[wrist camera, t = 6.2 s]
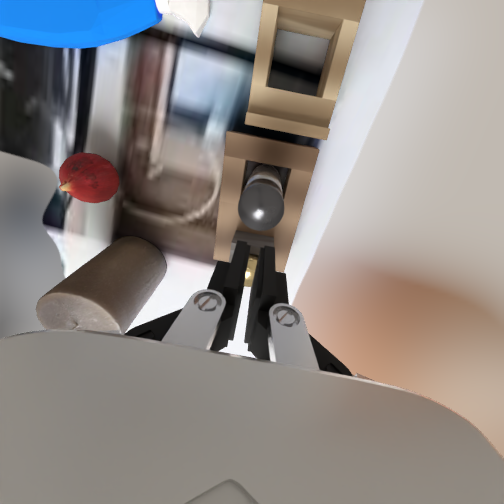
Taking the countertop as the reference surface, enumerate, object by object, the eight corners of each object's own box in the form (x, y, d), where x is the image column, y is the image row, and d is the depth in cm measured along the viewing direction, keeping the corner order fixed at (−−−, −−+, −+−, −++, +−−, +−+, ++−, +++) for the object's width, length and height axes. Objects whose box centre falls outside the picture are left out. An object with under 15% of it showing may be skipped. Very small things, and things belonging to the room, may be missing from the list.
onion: (93, 141, 29) (36, 145, 22) (135, 165, 30) (95, 176, 23) (85, 181, 32) (33, 196, 25) (125, 201, 33) (85, 221, 26)
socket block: (232, 130, 27) (219, 132, 21) (313, 146, 28) (326, 153, 21) (219, 246, 35) (206, 273, 29) (282, 258, 35) (284, 288, 29)
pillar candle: (99, 239, 36) (3, 303, 23) (155, 232, 35) (86, 297, 22) (125, 287, 41) (56, 363, 28) (175, 282, 40) (128, 361, 27)
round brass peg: (239, 240, 28) (234, 257, 25) (267, 246, 29) (266, 263, 25) (235, 264, 30) (230, 283, 27) (261, 269, 30) (260, 289, 27)
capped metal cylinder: (252, 161, 29) (241, 181, 18) (283, 167, 29) (289, 190, 19) (247, 192, 31) (234, 226, 20) (276, 198, 31) (278, 234, 20)
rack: (269, -6, 22) (268, -49, 16) (351, 10, 22) (376, -26, 16) (250, 124, 27) (244, 124, 22) (316, 137, 27) (326, 140, 22)
